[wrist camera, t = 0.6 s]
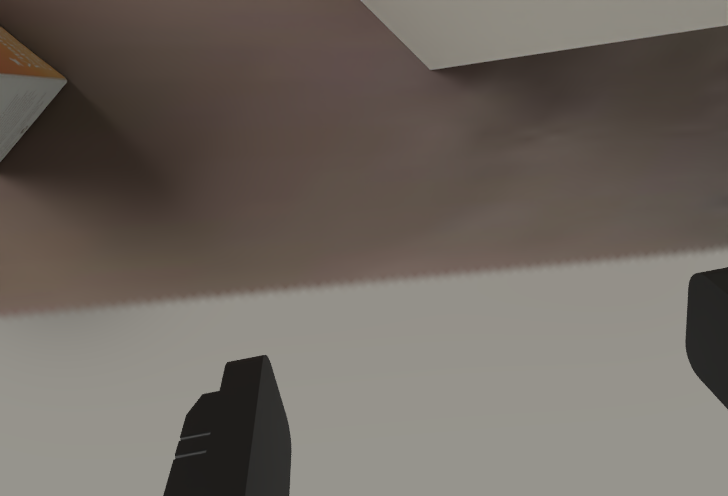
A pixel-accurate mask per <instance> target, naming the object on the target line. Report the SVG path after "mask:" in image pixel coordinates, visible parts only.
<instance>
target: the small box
mask: <svg viewBox="0 0 728 496" xmlns="http://www.w3.org/2000/svg"><path fill="white" fill-rule="evenodd" d="M66 83H67V79H66V78H65V77H64V76H63V75H61V74H60V73H59V72H57V71H56V70H55V69H53V68H52V67H51V66H50V65H48V64H47V63H46V62H44V61H43V60H42V59H40V58H39V57H38V56H37V55H35V54H34V53H33V52H32V51H30V50H29V49H28V48H27V47H25V46H24V45H23V44H22V43H20V42H19V41H18V40H17V39H15V38H14V37H13V36H12V35H10V34H9V33H8V32H7V31H6V30H5V29H3V28H2V27H1V26H0V162H1V161H2V159H3V158H4V157H5V156H6V155H7V154H8V152H9V151H10V150H11V149H12V148H13V146H14V145H15V144H16V143H17V142H18V140H19V139H20V138H21V137H22V136H23V134H24V133H25V132H26V131H27V130H28V128H29V127H30V126H31V125H32V124H33V123H34V121H35V120H36V119H37V118H38V117H39V115H40V114H41V113H42V112H43V111H44V109H45V108H46V107H47V106H48V104H49V103H50V102H51V101H52V100H53V98H54V97H55V96H56V95H57V94H58V92H59V91H60V90H61V89H62V88H63V86H64V85H65V84H66Z"/></svg>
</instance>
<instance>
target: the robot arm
mask: <svg viewBox="0 0 728 496" xmlns="http://www.w3.org/2000/svg"><path fill="white" fill-rule="evenodd" d="M687 307H688V308H687V325H686V352H687V356H688V359H689V362H690V364H691V366H692V368H693V370H694V372H695V373H696V375H697V376H698V377H699V378H700V379H701V381H702V382H703V383H704V384H705V385H706V386H707V387H708V388H709V389H710V390H711V391H712V392H713V394H714V395H715V396H716V397H717V398H718V399H719V400H720V401H721V402H722V403H723V404H724V406H725V407H726V408H727V409H728V267H727V268H723V269H717V270H712V271H706V272H701V273H696V274H694V275H693V276H692V277H691V279H690V282H689V288H688V306H687ZM180 438H181V441H179V443H178V446H177V450H176V453H175V458H176V459H175V460H173V464H172V467H171V471H170V474H169V478H168V481H167V485H166V489H165V492H164V495H163V496H289V489H290V468H291V438H290V431H289V425H288V421H287V417H286V413H285V410H284V406H283V403H282V400H281V397H280V393H279V390H278V386H277V383H276V380H275V376H274V373H273V369H272V366H271V363H270V360H269V358H268V357H267V356H266V355H262V356H257V357H252V358H247V359H241V360H237V361H231V362H227V364H226V365H225V370H224V374H223V378H222V383H221V387H220V391H217V392H212V393H207V394H203V395H202V396H201V397H200V398H199V400H198V401H197V402H196V403H195V405H194V406H193V407H192V408H191V410H190V411H189V412H188V414H187V415H186V418H185V421H184V425H183V428H182V432H181V436H180Z"/></svg>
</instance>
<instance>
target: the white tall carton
mask: <svg viewBox="0 0 728 496" xmlns="http://www.w3.org/2000/svg"><path fill="white" fill-rule="evenodd" d="M361 1H362V2H363V3H364V4H365V5H366V6H367V7H368V8H369V9H370V10H371V11H372V12H373V13H374V14H375V15H376V16H377V17H378V18H379V19H380V20H381V21H382V22H383V23H384V24H385V25H386V26H387V27H388V28H389V29H390V30H391V31H392V32H393V33H394V34H395V35H396V36H397V37H398V38H399V39H400V40H401V41H402V42H403V43H404V44H405V45H406V46H407V47H408V48H409V49H410V50H411V51H412V52H413V53H414V54H415V55H416V56H417V57H418V58H419V59H420V60H421V61H422V62H423V63H424V64H425V65H426V66H427V67H428V68H429V69H430V70H435V69H441V68H448V67H455V66H461V65H468V64H474V63H481V62H488V61H494V60H501V59H508V58H514V57H521V56H527V55H534V54H541V53H547V52H554V51H561V50H567V49H574V48H581V47H587V46H594V45H600V44H607V43H614V42H620V41H627V40H634V39H640V38H647V37H653V36H660V35H667V34H673V33H680V32H687V31H693V30H700V29H707V28H713V27H720V26H726V25H728V0H361Z"/></svg>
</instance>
